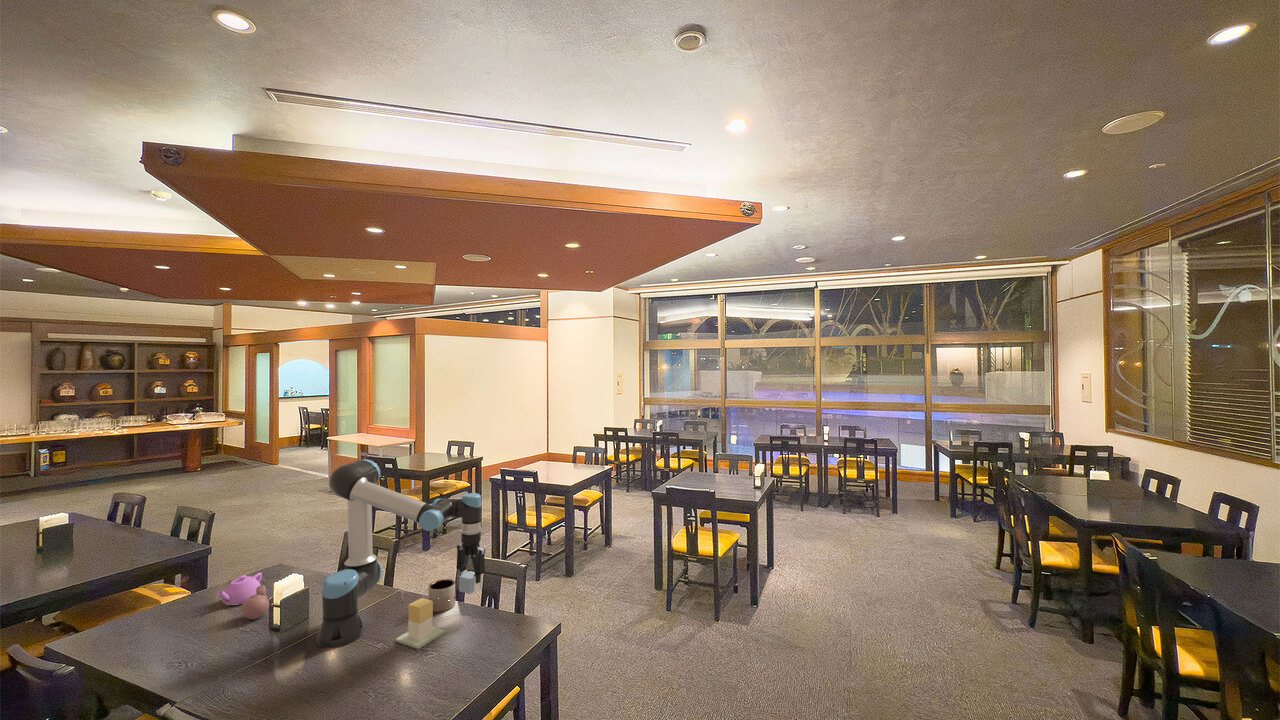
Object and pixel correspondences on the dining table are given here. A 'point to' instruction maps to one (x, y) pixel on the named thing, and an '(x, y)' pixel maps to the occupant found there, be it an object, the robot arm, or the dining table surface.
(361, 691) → the dining table surface
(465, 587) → the blue brick
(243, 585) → the teapot
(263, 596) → the figurine
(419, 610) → the ochre brick
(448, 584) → the planter
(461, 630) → the dining table surface
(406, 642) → the baseplate
